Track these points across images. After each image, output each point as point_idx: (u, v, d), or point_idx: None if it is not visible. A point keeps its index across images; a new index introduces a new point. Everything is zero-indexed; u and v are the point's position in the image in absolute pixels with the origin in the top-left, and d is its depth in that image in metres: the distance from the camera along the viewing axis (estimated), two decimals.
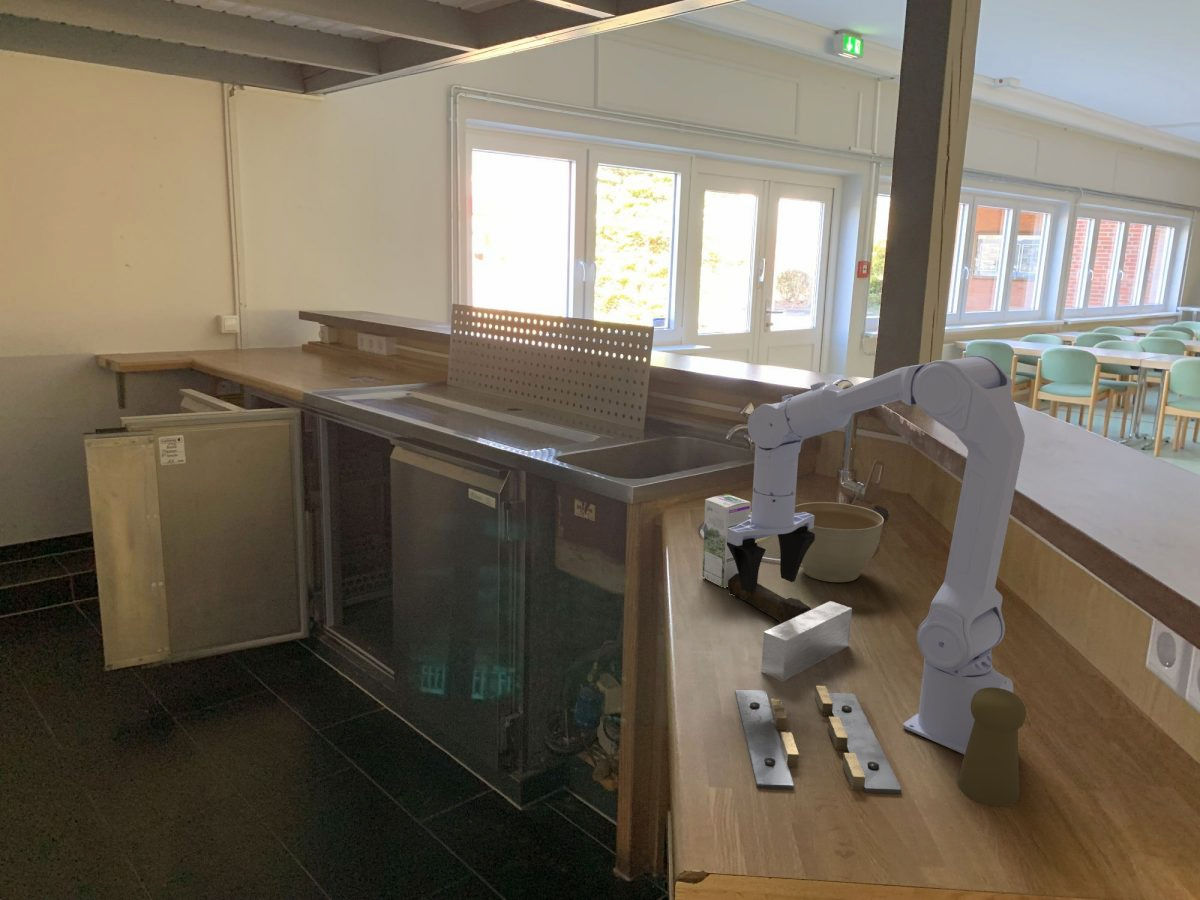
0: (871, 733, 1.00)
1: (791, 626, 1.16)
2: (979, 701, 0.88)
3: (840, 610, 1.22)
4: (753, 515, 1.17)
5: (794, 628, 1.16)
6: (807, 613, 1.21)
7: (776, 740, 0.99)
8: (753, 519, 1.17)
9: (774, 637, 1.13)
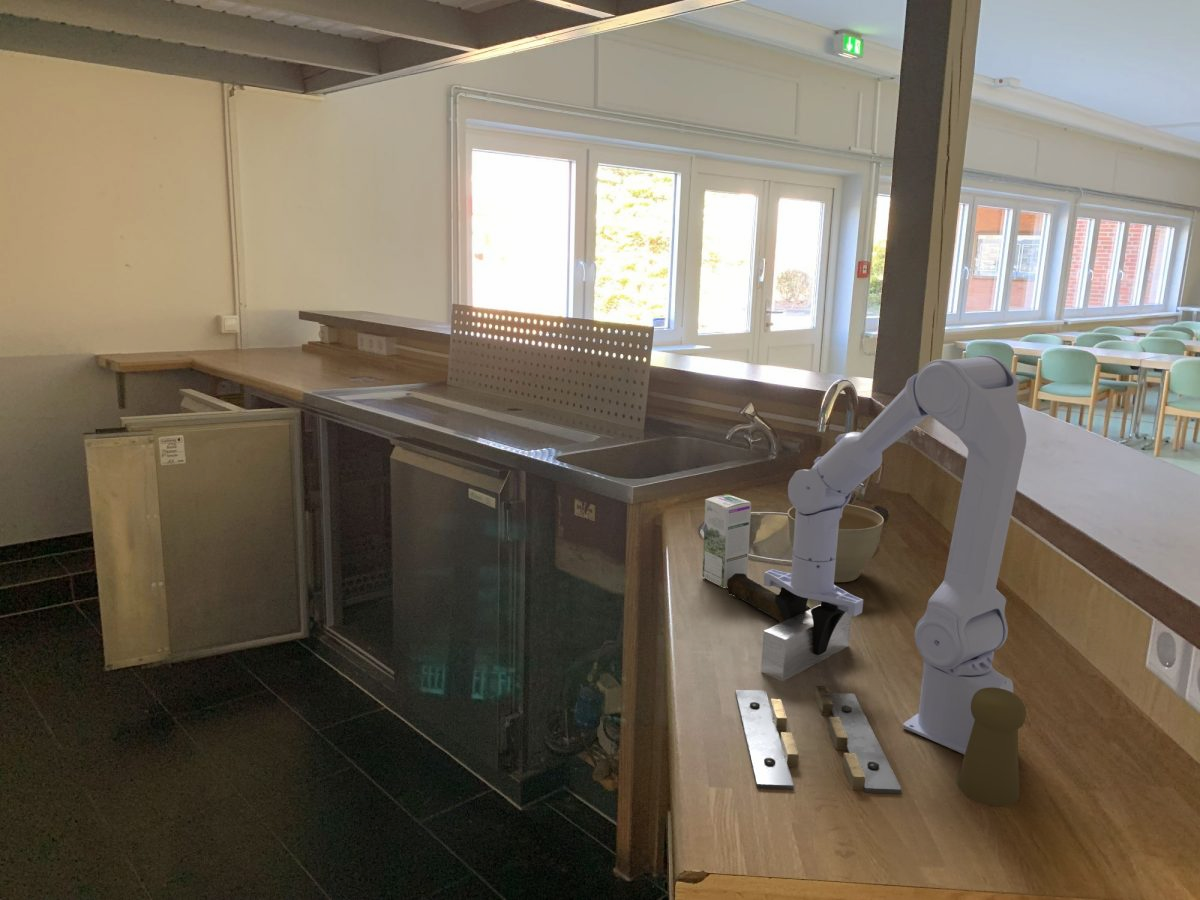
0: (871, 733, 1.00)
1: (791, 625, 1.16)
2: (979, 701, 0.88)
3: None
4: None
5: (794, 627, 1.16)
6: (807, 612, 1.21)
7: (776, 740, 0.99)
8: None
9: (774, 636, 1.13)
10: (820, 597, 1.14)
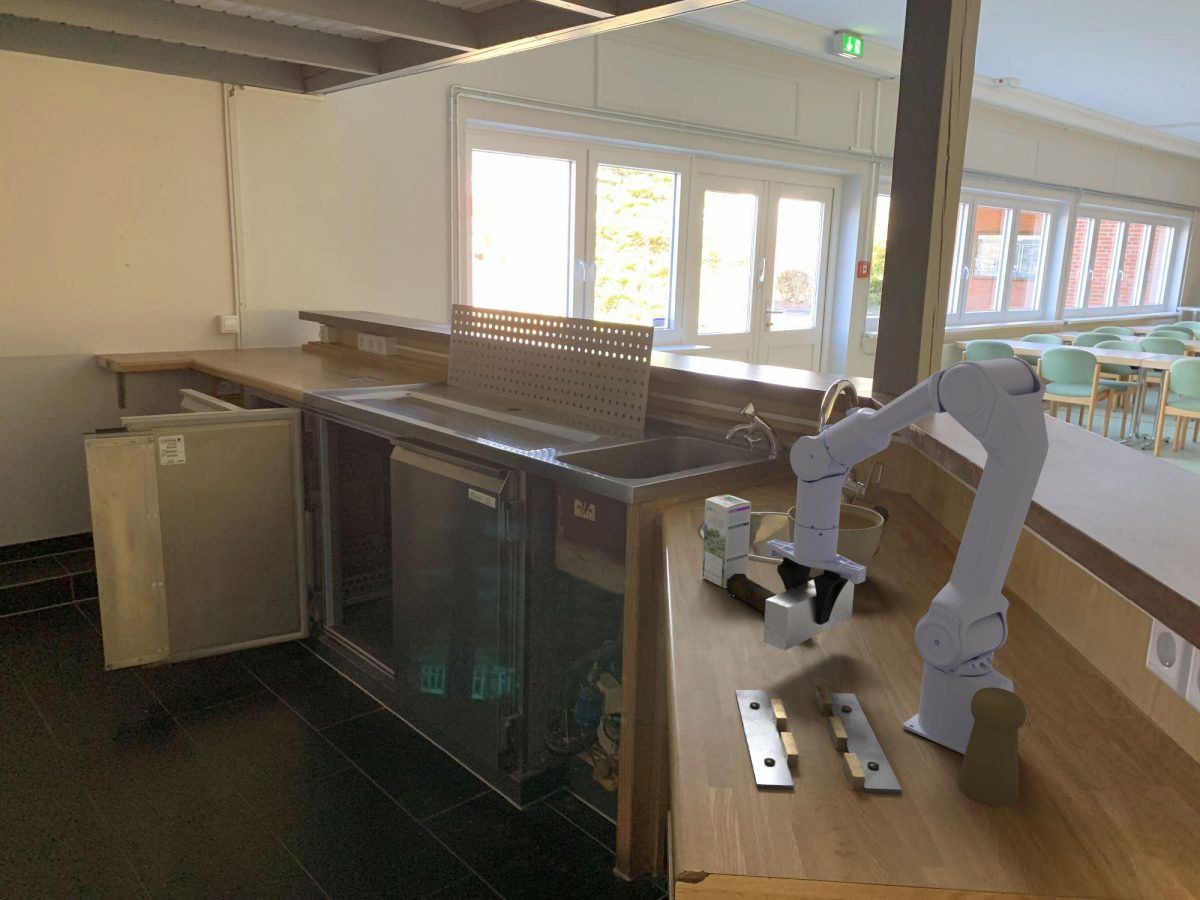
0: (871, 733, 1.00)
1: (793, 594, 1.15)
2: (979, 701, 0.88)
3: None
4: None
5: (796, 596, 1.15)
6: (810, 582, 1.19)
7: (776, 740, 0.99)
8: None
9: (776, 605, 1.12)
10: (823, 565, 1.13)
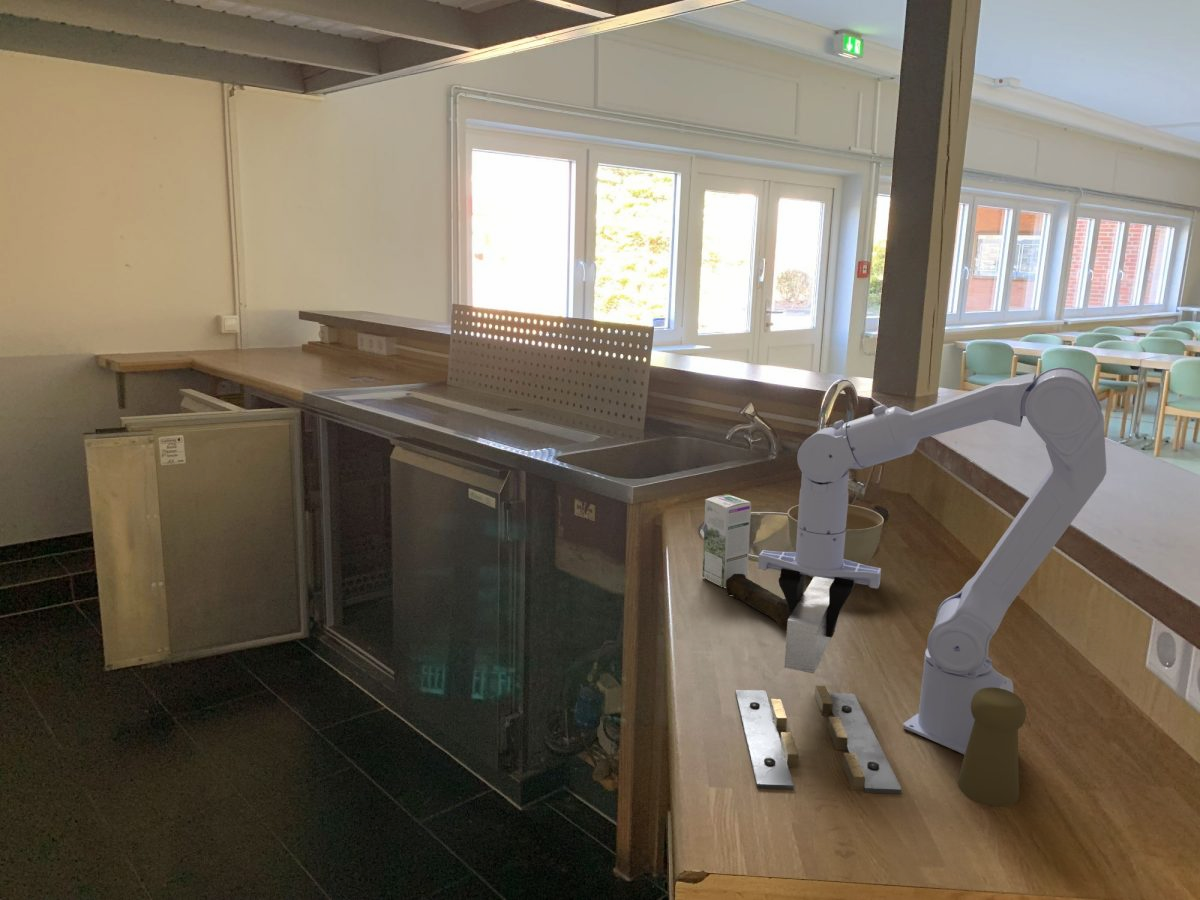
0: (871, 733, 1.00)
1: (806, 609, 1.04)
2: (979, 701, 0.88)
3: None
4: None
5: (812, 610, 1.03)
6: (807, 592, 1.09)
7: (776, 740, 0.99)
8: None
9: (802, 624, 1.00)
10: (839, 573, 1.03)
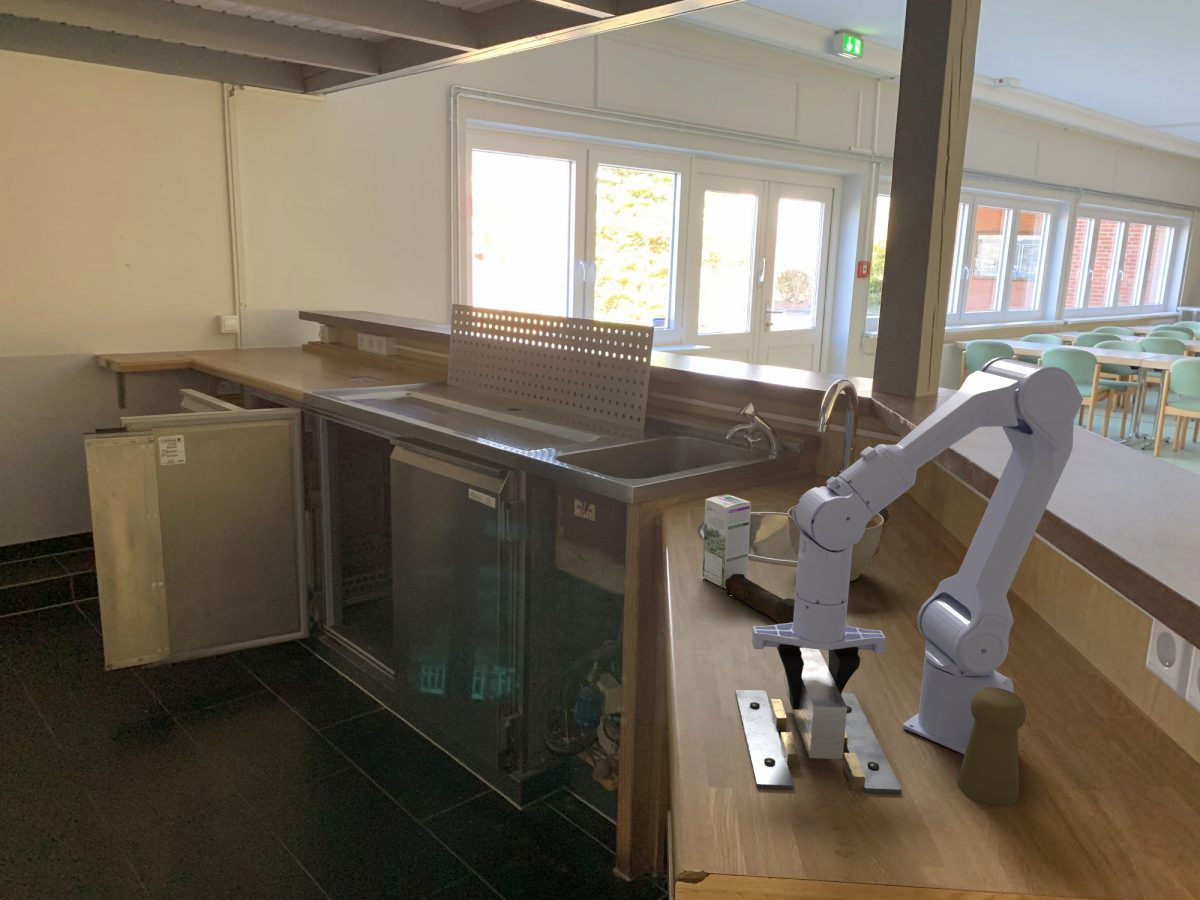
0: (871, 733, 1.00)
1: (817, 687, 0.95)
2: (979, 701, 0.88)
3: (814, 649, 1.04)
4: (793, 618, 0.98)
5: (824, 688, 0.94)
6: None
7: (776, 740, 0.99)
8: None
9: (829, 709, 0.91)
10: (848, 643, 0.95)
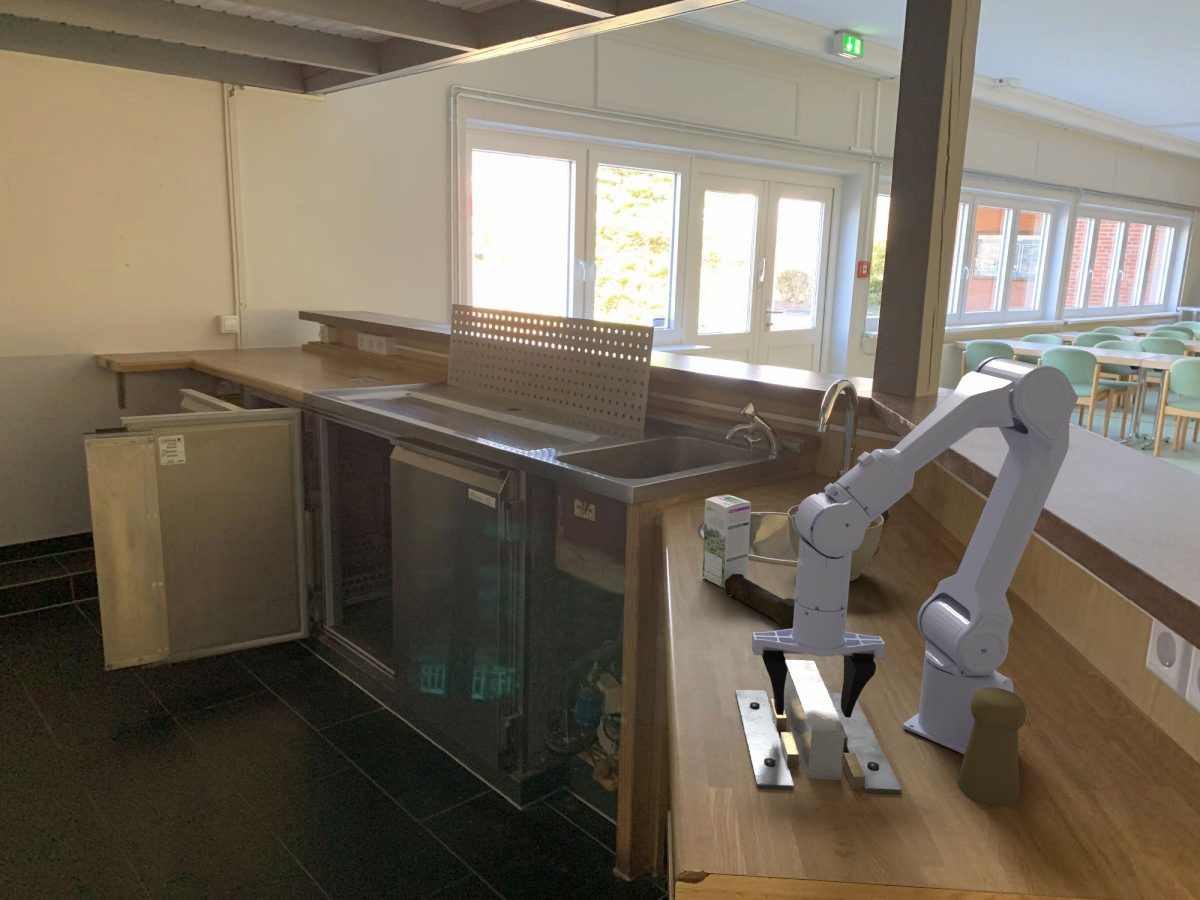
0: (871, 733, 1.00)
1: (815, 709, 0.95)
2: (979, 701, 0.88)
3: (812, 668, 1.05)
4: None
5: (822, 710, 0.95)
6: (798, 685, 1.00)
7: (776, 740, 0.99)
8: None
9: (827, 732, 0.91)
10: (847, 649, 0.95)
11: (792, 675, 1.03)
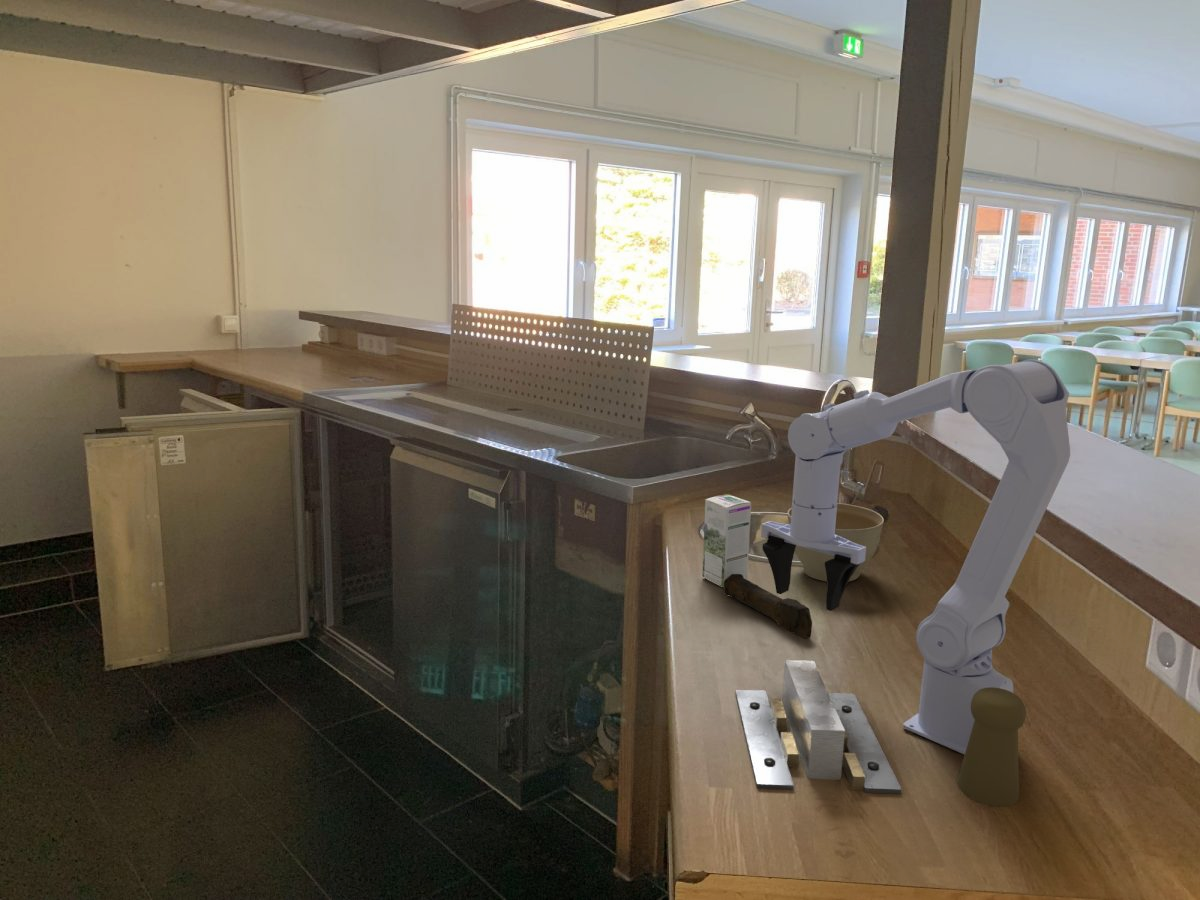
0: (871, 733, 1.00)
1: (815, 709, 0.95)
2: (979, 701, 0.88)
3: (812, 668, 1.05)
4: None
5: (822, 710, 0.95)
6: (798, 685, 1.00)
7: (776, 740, 0.99)
8: None
9: (827, 732, 0.91)
10: (822, 545, 1.10)
11: (792, 675, 1.03)
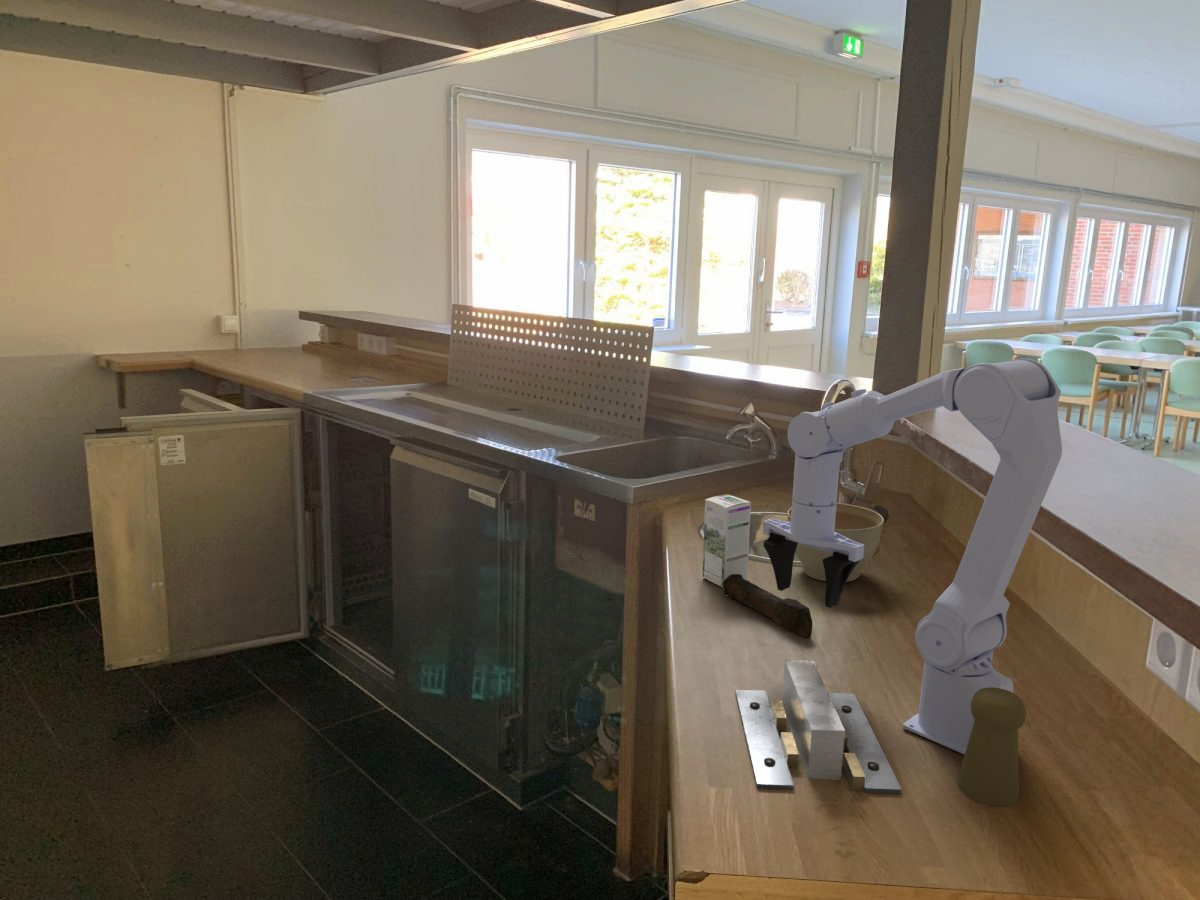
0: (871, 733, 1.00)
1: (815, 709, 0.95)
2: (979, 701, 0.88)
3: (812, 668, 1.05)
4: None
5: (822, 710, 0.95)
6: (798, 685, 1.00)
7: (776, 740, 0.99)
8: None
9: (827, 732, 0.91)
10: (820, 543, 1.12)
11: (792, 675, 1.03)
